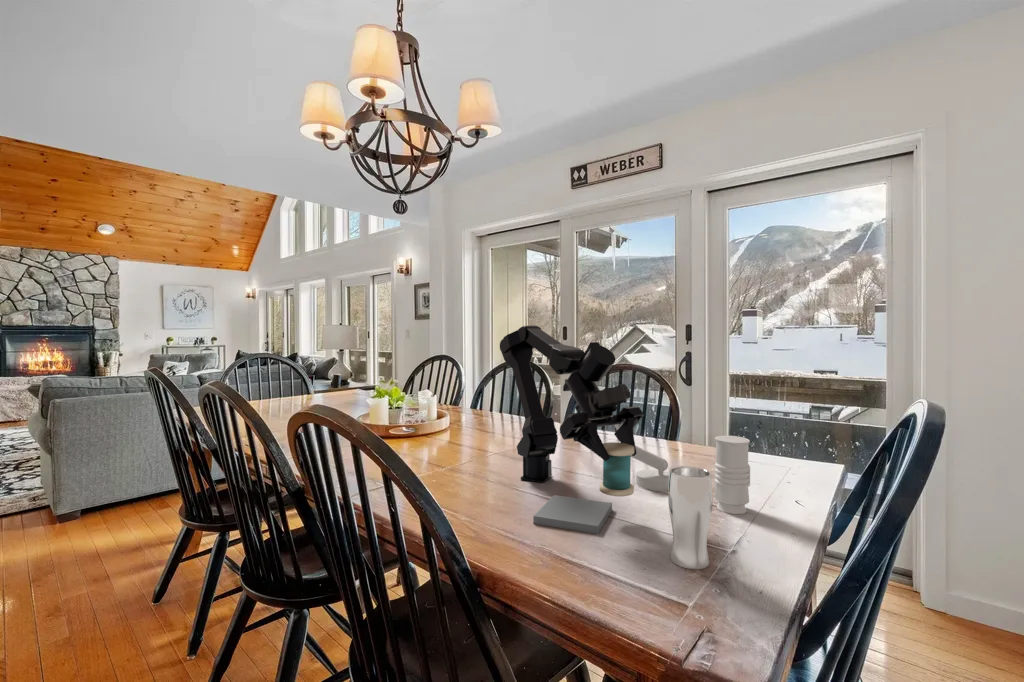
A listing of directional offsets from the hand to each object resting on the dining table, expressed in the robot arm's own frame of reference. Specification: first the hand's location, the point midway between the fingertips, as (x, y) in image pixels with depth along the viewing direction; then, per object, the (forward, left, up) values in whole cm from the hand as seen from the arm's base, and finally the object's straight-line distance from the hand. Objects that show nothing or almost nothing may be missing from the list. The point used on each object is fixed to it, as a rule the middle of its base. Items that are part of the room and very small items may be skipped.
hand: (621, 457), depth 98 cm
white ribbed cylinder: (+21, +16, -13) cm, 29 cm away
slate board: (-9, -1, -13) cm, 16 cm away
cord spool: (-1, +1, -7) cm, 7 cm away
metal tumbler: (+14, -12, -13) cm, 22 cm away
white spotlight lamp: (+3, +26, -13) cm, 29 cm away
